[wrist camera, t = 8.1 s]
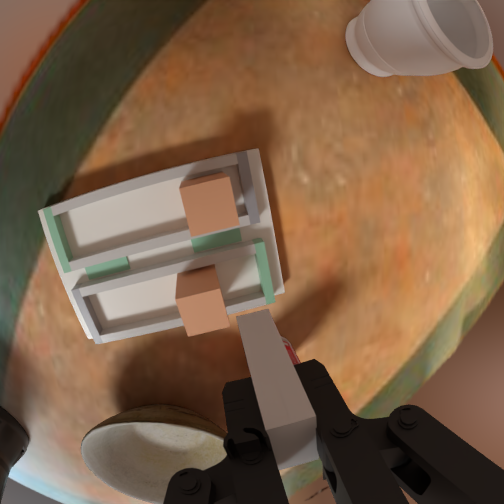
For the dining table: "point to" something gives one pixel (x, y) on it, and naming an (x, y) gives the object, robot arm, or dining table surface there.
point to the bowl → (151, 449)
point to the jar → (419, 37)
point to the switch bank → (160, 248)
